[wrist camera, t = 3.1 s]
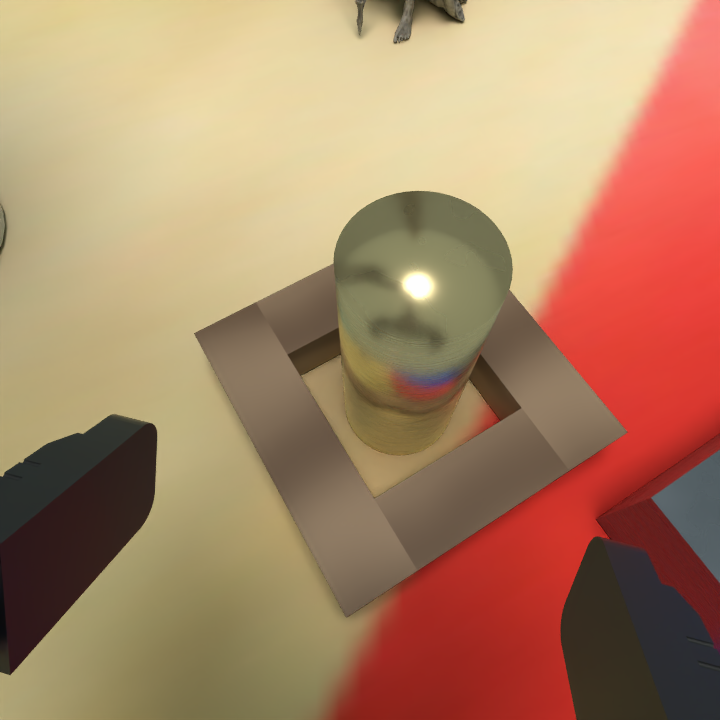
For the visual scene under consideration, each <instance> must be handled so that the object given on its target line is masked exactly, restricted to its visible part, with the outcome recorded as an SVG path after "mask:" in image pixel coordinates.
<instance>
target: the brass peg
mask: <svg viewBox="0 0 720 720" xmlns="http://www.w3.org/2000/svg"><path fill="white" fill-rule="evenodd" d="M512 270H513V269H512V258H511V254H510V250H509V247H508V245H507V242H506V240H505V238H504V237H503V235H502V233H501V231H500V230H499V229H498V227H497V226H496V225H495V224H494V223H493V222H492V221H491V219H490V218H489V217H488V216H486V215H485V214H484V213H483V212H481V211H480V210H479V209H477V208H476V207H474V206H472V205H471V204H469V203H467V202H465V201H463V200H461V199H458V198H455V197H453V196H450V195H446V194H442V193H436V192H429V191H410V192H402V193H396V194H393V195H389V196H386V197H383V198H381V199H378V200H376V201H374V202H372V203H371V204H369V205H367V206H366V207H364V208H363V209H361V210H360V211H359V212H358V213H357V214H356V215H355V216H353V217H352V218H351V220H350V221H349V222H348V223H347V225H346V226H345V227H344V229H343V231H342V232H341V234H340V236H339V239H338V241H337V244H336V248H335V252H334V274H335V287H336V299H337V311H338V323H339V336H340V348H341V360H342V372H343V385H344V397H345V409H346V415H347V418H348V421H349V424H350V426H351V428H352V429H353V431H354V432H355V434H356V435H357V436H358V437H359V438H360V439H361V440H362V441H363V442H364V443H365V444H367V445H368V446H370V447H371V448H373V449H375V450H377V451H380V452H383V453H386V454H392V455H408V454H413V453H416V452H419V451H422V450H424V449H426V448H428V447H429V446H430V445H432V444H433V443H434V442H435V441H437V440H438V439H439V437H440V436H441V435H442V434H443V432H444V430H445V429H446V427H447V425H448V422H449V420H450V418H451V416H452V414H453V412H454V409H455V407H456V405H457V403H458V401H459V398H460V396H461V394H462V392H463V390H464V388H465V385H466V383H467V381H468V379H469V377H470V374H471V372H472V370H473V368H474V366H475V364H476V361H477V359H478V357H479V355H480V353H481V350H482V348H483V346H484V344H485V342H486V340H487V337H488V335H489V333H490V331H491V329H492V326H493V324H494V322H495V320H496V318H497V316H498V313H499V311H500V309H501V307H502V305H503V302H504V300H505V298H506V296H507V293H508V291H509V288H510V284H511V280H512Z"/></svg>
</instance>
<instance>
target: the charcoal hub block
mask: <svg viewBox="0 0 720 720" xmlns="http://www.w3.org/2000/svg"><path fill="white" fill-rule="evenodd" d="M596 520H597V521H598V523H599V524H600V525H601V527H602V528H603V529H604V531H605V532H606V533H607V535H608V536H609V537H610V539H611V540H614V541H618V542H622V543H626V544H630V545H634V546H638V547H642V548H643V549H645V551H646V552H647V554H648V556H649V558H650V560H651V562H652V564H653V566H654V569H655V571H656V573H657V575H658V577H659V579H660V582H661V584H664V585H668V586H672V587H674V588H675V589H676V590H677V591H678V592H679V594H680V595H681V596H682V597H683V598H684V599H685V600H686V601H687V602H688V603H689V604H690V605H691V606H692V608H693V609H694V610H695V611H696V612H697V613H698V614H699V615H700V617H701V619H702V621H703V623H704V625H705V627H706V629H707V631H708V633H709V635H710V637H711V639H712V641H713V643H714V646H713V647H714V649H717V650H718V652H719V654H720V434H719V435H717V436H716V437H714V438H713V439H711V440H710V441H709V442H707V443H706V444H704V445H703V446H701V447H700V448H698V449H697V450H695V451H694V452H693V453H691V454H690V455H688V456H687V457H685V458H684V459H682V460H681V461H680V462H678V463H677V464H675V465H674V466H672V467H671V468H669V469H668V470H667V471H665V472H664V473H662V474H661V475H659V476H658V477H656V478H655V479H654V480H652V481H651V482H649V483H648V484H646V485H645V486H643V487H642V488H640V489H639V490H638V491H636V492H635V493H633V494H632V495H630V496H629V497H627V498H626V499H625V500H623V501H622V502H620V503H619V504H617V505H616V506H614V507H613V508H612V509H610V510H609V511H607V512H606V513H604V514H603V515H601V516H600V517H599V518H597V519H596Z"/></svg>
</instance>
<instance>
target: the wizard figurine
mask: <svg viewBox="0 0 720 720" xmlns="http://www.w3.org/2000/svg"><path fill="white" fill-rule="evenodd" d="M429 1H430V2H432V3H433V4H434V5H436V6H437V7H443V8H444V9H445V11H446V12H447V13H448V14H449V15H451V16H452V17H454V18H456V19H458V20H460V21H462V22H463V21H464V20H465V18H464V14H463V10H462V7H461V5H460V3H459V2H461V3H463V2H464V1H467V0H429ZM355 2H356V4H357V7H358V18H357V25H358V30H359V35H360V32H361V27H362V23H363V7H364V4H365V2H366V0H356V1H355ZM413 10H414V0H406V1H405V4H404V9H403V15H402V18H401V21H400V24H399V26H398V28H397V30H396V32H395V36H394V42H397V38H399V39H398V42H400V39H401V41H403V39H405V40H406V39H409V37H410V34H411V24H412V13H413Z"/></svg>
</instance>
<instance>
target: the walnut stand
mask: <svg viewBox="0 0 720 720" xmlns="http://www.w3.org/2000/svg"><path fill="white" fill-rule="evenodd" d="M194 334H195V336H196V338H197V340H198V342H199V343H200V345H201V347H202V349H203V351H204V353H205V355H206V356H207V358H208V360H209V362H210V364H211V366H212V368H213V370H214V371H215V373H216V375H217V377H218V379H219V381H220V383H221V384H222V386H223V388H224V390H225V392H226V394H227V396H228V398H229V399H230V401H231V403H232V405H233V407H234V409H235V411H236V412H237V414H238V416H239V418H240V420H241V422H242V424H243V426H244V427H245V429H246V431H247V433H248V435H249V437H250V439H251V441H252V442H253V444H254V446H255V448H256V450H257V452H258V454H259V455H260V457H261V459H262V461H263V463H264V465H265V467H266V469H267V470H268V472H269V474H270V476H271V478H272V480H273V482H274V483H275V485H276V487H277V489H278V491H279V493H280V495H281V497H282V498H283V500H284V502H285V504H286V506H287V508H288V510H289V511H290V513H291V515H292V517H293V519H294V521H295V523H296V525H297V526H298V528H299V530H300V532H301V534H302V536H303V538H304V540H305V541H306V543H307V545H308V547H309V549H310V551H311V553H312V554H313V556H314V558H315V560H316V562H317V564H318V566H319V568H320V569H321V571H322V573H323V575H324V577H325V579H326V581H327V582H328V584H329V586H330V588H331V590H332V592H333V594H334V596H335V597H336V599H337V601H338V603H339V605H340V607H341V609H342V610H343V612H344V614H345V616H346V617H348V616H350V615H351V614H353V613H354V612H356V611H357V610H359V609H360V608H362V607H363V606H365V605H367V604H368V603H370V602H371V601H373V600H374V599H376V598H377V597H379V596H380V595H382V594H383V593H385V592H386V591H388V590H389V589H391V588H392V587H394V586H395V585H397V584H398V583H400V582H401V581H403V580H404V579H406V578H408V577H409V576H411V575H412V574H414V573H415V572H417V571H418V570H420V569H421V568H423V567H424V566H426V565H427V564H429V563H430V562H432V561H433V560H435V559H436V558H438V557H439V556H441V555H442V554H444V553H445V552H447V551H449V550H450V549H452V548H453V547H455V546H456V545H458V544H459V543H461V542H462V541H464V540H465V539H467V538H468V537H470V536H471V535H473V534H474V533H476V532H477V531H479V530H480V529H482V528H483V527H485V526H486V525H488V524H490V523H491V522H493V521H494V520H496V519H497V518H499V517H500V516H502V515H503V514H505V513H506V512H508V511H509V510H511V509H512V508H514V507H515V506H517V505H518V504H520V503H521V502H523V501H524V500H526V499H528V498H529V497H531V496H532V495H534V494H535V493H537V492H538V491H540V490H541V489H543V488H544V487H546V486H547V485H549V484H550V483H552V482H553V481H555V480H556V479H558V478H559V477H561V476H562V475H564V474H565V473H567V472H569V471H570V470H572V469H573V468H575V467H576V466H578V465H579V464H581V463H582V462H584V461H585V460H587V459H588V458H590V457H591V456H593V455H594V454H596V453H597V452H599V451H600V450H602V449H603V448H605V447H606V446H608V445H609V444H611V443H612V442H614V441H615V440H617V439H618V438H620V437H621V436H623V435H624V434H626V433H627V431H626V430H625V428H624V427H623V426H622V425H621V424H620V422H619V421H618V420H617V419H616V418H615V416H614V415H613V414H612V413H611V412H610V410H609V409H608V408H607V407H606V406H605V404H604V403H603V402H602V401H601V400H600V398H599V397H598V396H597V395H596V394H595V392H594V391H593V390H592V389H591V388H590V386H589V385H588V384H587V383H586V381H585V380H584V379H583V378H582V377H581V375H580V374H579V373H578V372H577V371H576V369H575V368H574V367H573V366H572V365H571V363H570V362H569V361H568V360H567V359H566V357H565V356H564V355H563V354H562V353H561V351H560V350H559V349H558V348H557V347H556V345H555V344H554V343H553V342H552V341H551V339H550V338H549V337H548V336H547V335H546V333H545V332H544V331H543V330H542V329H541V327H540V326H539V325H538V324H537V322H536V321H535V320H534V319H533V318H532V316H531V315H530V314H529V313H528V312H527V310H526V309H525V308H524V307H523V306H522V304H521V303H520V302H519V301H518V300H517V298H516V297H515V296H514V295H513V294H512V292H511V291H510V290H509V291H508V293H507V296H506V298H505V300H504V302H503V305H502V307H501V309H500V311H499V313H498V316H497V318H496V320H495V322H494V324H493V326H492V329H491V331H490V333H489V335H488V337H487V340H486V342H485V344H484V346H483V348H482V350H481V353H480V355H479V357H478V359H477V361H476V364H475V366H474V368H473V370H472V372H471V374H470V377H469V379H470V380H471V381H472V383H473V384H474V385H475V387H476V388H477V389H478V391H479V392H480V394H481V395H482V396H483V398H484V399H485V400H486V402H487V403H488V404H489V406H490V407H491V408H492V410H493V411H494V412H495V414H496V415H497V417H498V418H499V419H500V422H498V423H497V424H495V425H493V426H492V427H490V428H489V429H487V430H485V431H484V432H482V433H480V434H479V435H477V436H476V437H474V438H472V439H471V440H469V441H467V442H466V443H464V444H463V445H461V446H459V447H458V448H456V449H454V450H453V451H451V452H449V453H448V454H446V455H445V456H443V457H441V458H440V459H438V460H436V461H435V462H433V463H432V464H430V465H428V466H427V467H425V468H423V469H422V470H420V471H419V472H417V473H415V474H414V475H412V476H410V477H409V478H407V479H405V480H404V481H402V482H401V483H399V484H397V485H396V486H394V487H392V488H391V489H389V490H388V491H386V492H384V493H383V494H381V495H379V496H378V497H376V498H375V499H374V498H373V496H372V494H371V493H370V491H369V489H368V488H367V486H366V484H365V483H364V481H363V479H362V478H361V476H360V474H359V473H358V471H357V469H356V468H355V466H354V464H353V463H352V461H351V459H350V458H349V456H348V454H347V453H346V451H345V449H344V448H343V446H342V444H341V443H340V441H339V439H338V438H337V436H336V435H335V433H334V431H333V430H332V428H331V426H330V425H329V423H328V421H327V420H326V418H325V416H324V415H323V413H322V411H321V410H320V408H319V406H318V405H317V403H316V401H315V400H314V398H313V396H312V395H311V393H310V391H309V390H308V388H307V386H306V385H305V383H304V381H303V380H302V378H301V375H303V374H304V373H306V372H308V371H310V370H312V369H314V368H315V367H317V366H319V365H321V364H323V363H325V362H327V361H328V360H330V359H332V358H334V357H336V356H338V355H339V354H341V348H340V336H339V323H338V311H337V299H336V287H335V274H334V264H332V265H330V266H328V267H326V268H324V269H322V270H320V271H318V272H316V273H314V274H312V275H310V276H308V277H306V278H304V279H302V280H300V281H298V282H296V283H294V284H292V285H290V286H288V287H286V288H284V289H282V290H280V291H278V292H276V293H274V294H272V295H270V296H268V297H266V298H264V299H262V300H260V301H258V302H256V303H254V304H252V305H250V306H248V307H246V308H244V309H242V310H240V311H238V312H236V313H234V314H232V315H230V316H228V317H226V318H224V319H222V320H220V321H218V322H216V323H214V324H212V325H210V326H208V327H206V328H204V329H202V330H200V331H198V332H196V333H194Z"/></svg>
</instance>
